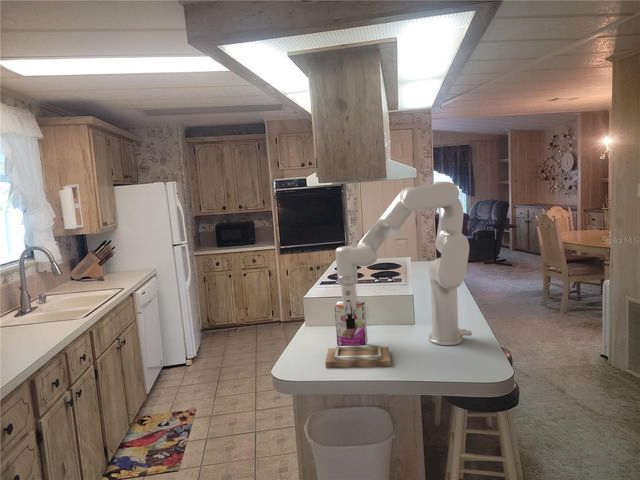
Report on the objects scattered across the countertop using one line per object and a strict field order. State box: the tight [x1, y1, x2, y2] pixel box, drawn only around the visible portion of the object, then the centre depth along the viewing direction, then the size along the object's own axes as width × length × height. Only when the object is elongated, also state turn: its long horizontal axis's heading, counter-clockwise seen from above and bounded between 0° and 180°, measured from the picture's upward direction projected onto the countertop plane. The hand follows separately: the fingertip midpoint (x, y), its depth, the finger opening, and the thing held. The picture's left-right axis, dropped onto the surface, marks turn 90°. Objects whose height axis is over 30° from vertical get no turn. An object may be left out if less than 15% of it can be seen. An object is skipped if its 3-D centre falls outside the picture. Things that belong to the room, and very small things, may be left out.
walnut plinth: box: [324, 344, 392, 369], centre depth 152 cm, size 22×12×3 cm, turn 84°
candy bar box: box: [334, 300, 368, 347], centre depth 164 cm, size 11×5×16 cm, turn 74°
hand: (351, 325), depth 164 cm, fingers closed on candy bar box, 5 cm apart
